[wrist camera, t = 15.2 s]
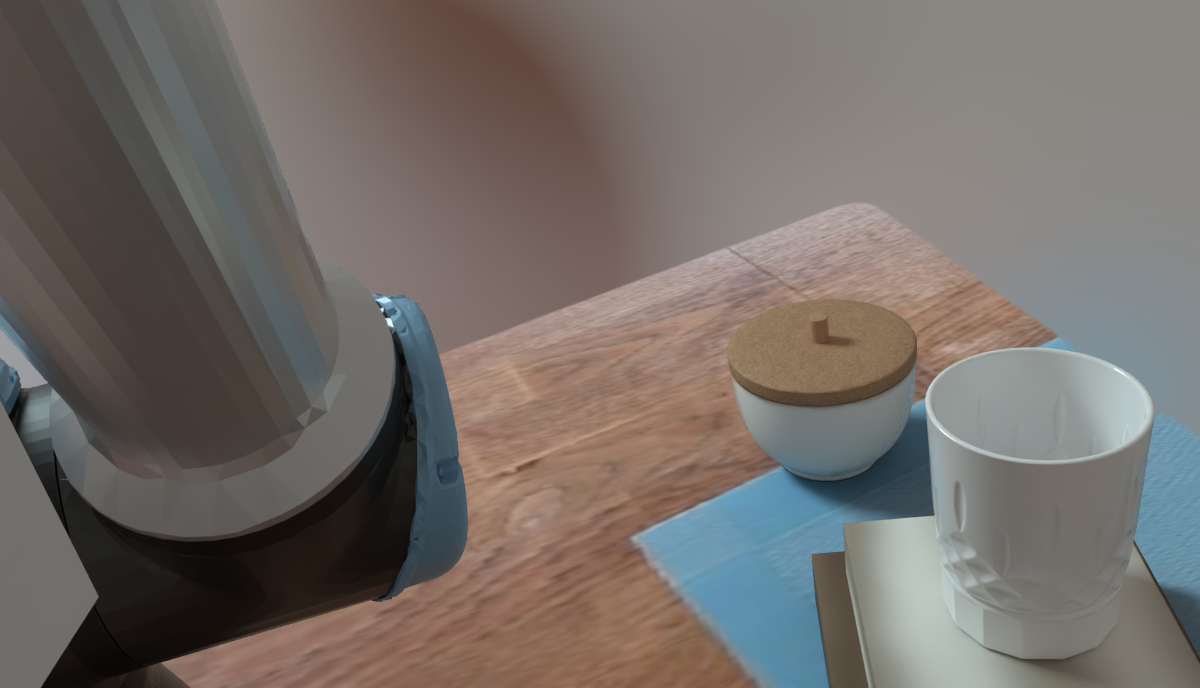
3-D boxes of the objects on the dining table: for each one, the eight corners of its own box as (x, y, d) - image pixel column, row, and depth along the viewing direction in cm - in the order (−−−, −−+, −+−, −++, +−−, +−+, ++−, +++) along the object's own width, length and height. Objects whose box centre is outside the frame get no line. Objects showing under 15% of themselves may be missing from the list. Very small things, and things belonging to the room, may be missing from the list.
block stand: (856, 865, 43) (848, 760, 40) (815, 599, 56) (807, 506, 53) (1264, 847, 41) (1287, 736, 38) (1123, 576, 54) (1132, 478, 51)
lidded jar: (926, 406, 69) (923, 274, 65) (911, 513, 61) (907, 368, 56) (758, 399, 73) (745, 274, 68) (722, 499, 64) (704, 362, 60)
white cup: (1172, 656, 42) (1199, 441, 37) (967, 688, 42) (968, 479, 37) (1080, 527, 49) (1093, 332, 44) (905, 556, 49) (899, 365, 44)
